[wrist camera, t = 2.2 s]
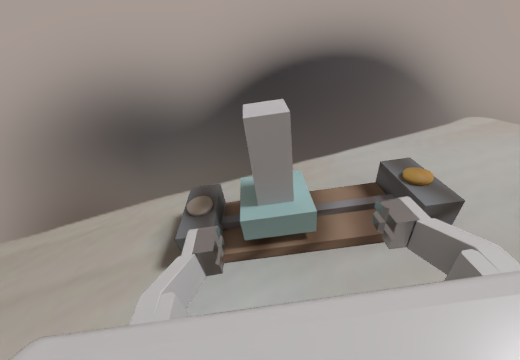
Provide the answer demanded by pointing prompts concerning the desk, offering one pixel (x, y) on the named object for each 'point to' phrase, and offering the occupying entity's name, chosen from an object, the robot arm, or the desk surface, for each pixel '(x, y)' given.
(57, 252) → the desk surface
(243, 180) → the block
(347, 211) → the rail
